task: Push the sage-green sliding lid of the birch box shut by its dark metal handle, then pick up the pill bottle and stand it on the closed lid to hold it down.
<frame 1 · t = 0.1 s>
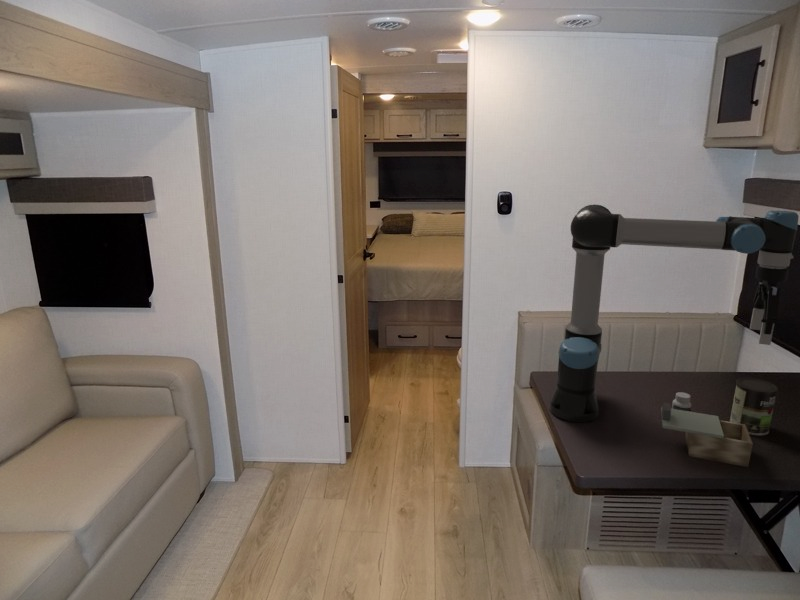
hand: (759, 336, 154), 28 cm above the table, fingers open, 13 cm apart
pill bottle: (679, 421, 163), on the table
lid: (691, 417, 147), point 9 cm above the table, slide at 7.0 cm
box: (715, 451, 146), on the table
coffee can: (748, 427, 159), on the table
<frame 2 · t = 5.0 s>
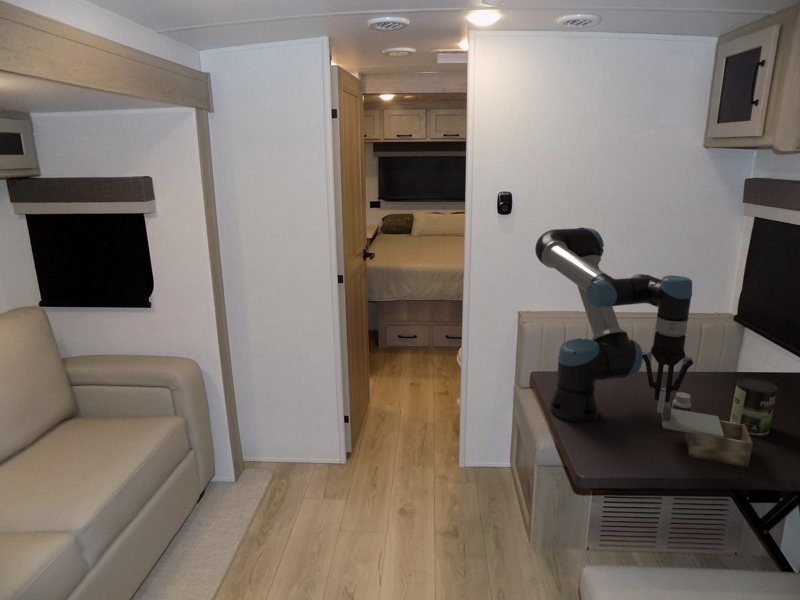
hand: (660, 410, 149), 10 cm above the table, fingers closed
lid: (691, 417, 147), point 9 cm above the table, slide at 7.0 cm, touching gripper
everything else where it was.
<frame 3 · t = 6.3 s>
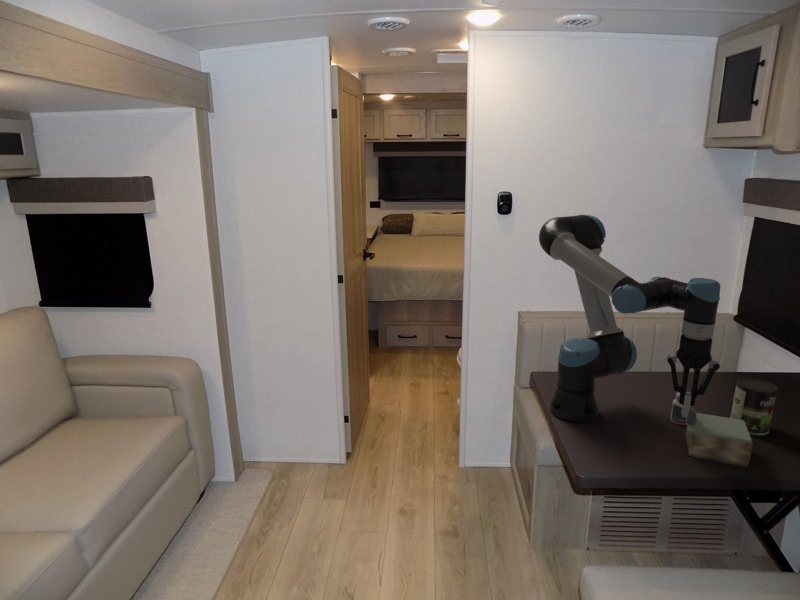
hand: (684, 414, 147), 10 cm above the table, fingers closed
lid: (717, 421, 144), point 9 cm above the table, slide at 0.7 cm, touching gripper
everything else where it was.
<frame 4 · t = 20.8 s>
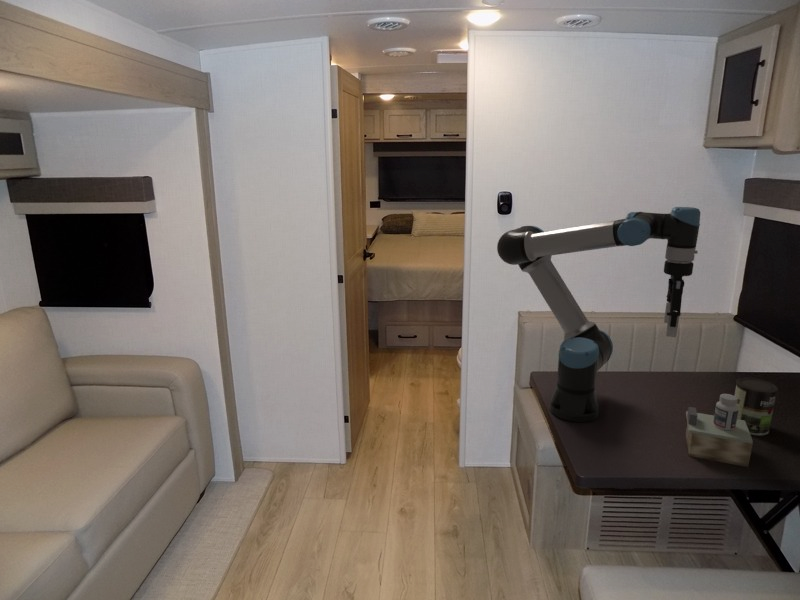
hand: (669, 329, 159), 29 cm above the table, fingers open, 13 cm apart
pill bottle: (723, 426, 144), point 8 cm above the table, touching lid
lid: (718, 421, 144), point 9 cm above the table, slide at 0.5 cm, touching pill bottle
everything else where it was.
at the end: lid slide at 0.5 cm; pill bottle inside the target area on the box (0.8 cm from its centre), point 7.8 cm above the box's base; pill bottle tilted 0° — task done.
